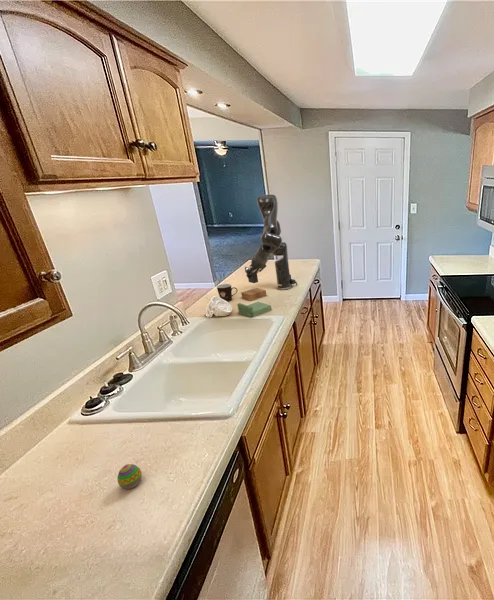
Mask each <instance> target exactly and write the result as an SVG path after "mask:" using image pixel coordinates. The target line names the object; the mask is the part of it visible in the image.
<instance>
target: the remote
mask: <svg viewBox="0 0 494 600" xmlns="http://www.w3.org/2000/svg"><path fill="white" fill-rule="evenodd" d="M250 272H251V271H250ZM247 279H248V283H251V284H256V283H259V279H258V273H257V271H255V272H254V273H252V274H251V276H250V278H248V277H247Z"/></svg>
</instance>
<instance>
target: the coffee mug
mask: <svg viewBox="0 0 494 600" xmlns="http://www.w3.org/2000/svg"><path fill="white" fill-rule="evenodd" d="M233 289H235V293H233V292H232V291H233ZM216 290H217V292H218V297H220V298H222V299H223V300H225V301H227V302H228V303H229V302H232V300H233V297H234V296H235V295H236V294H237V293H238V288H237V287H232V284H231V283H221V284H218V285H216ZM232 293H233V294H232Z"/></svg>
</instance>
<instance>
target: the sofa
mask: <svg viewBox="0 0 494 600" xmlns="http://www.w3.org/2000/svg"><path fill="white" fill-rule="evenodd" d="M236 305H237V311H238V314H239V315H243V316H246V317H248V318H255V317H257V316H259V315H262V314H265V313H268V312H270V311H272V305H271V304H267V303H264V302H261V301H255V302H253V303H250V304H243V303H240V302H239V303H237V304H236Z"/></svg>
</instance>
